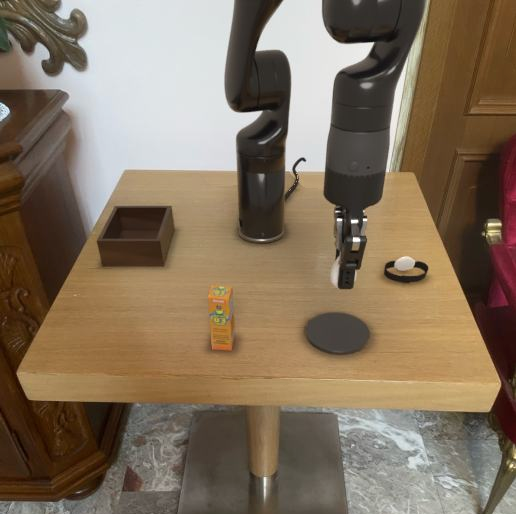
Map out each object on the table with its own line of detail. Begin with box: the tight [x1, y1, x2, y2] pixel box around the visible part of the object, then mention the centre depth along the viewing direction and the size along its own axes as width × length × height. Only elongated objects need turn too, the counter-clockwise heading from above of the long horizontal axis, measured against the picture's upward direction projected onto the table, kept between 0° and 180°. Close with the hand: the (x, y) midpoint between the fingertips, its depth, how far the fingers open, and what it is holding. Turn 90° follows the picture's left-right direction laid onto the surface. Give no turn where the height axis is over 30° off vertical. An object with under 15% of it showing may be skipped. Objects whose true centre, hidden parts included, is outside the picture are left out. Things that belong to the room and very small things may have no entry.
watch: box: [383, 255, 429, 284], centre depth 93 cm, size 8×5×4 cm, turn 88°
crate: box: [96, 205, 176, 267], centre depth 102 cm, size 15×12×5 cm
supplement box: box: [207, 284, 236, 352], centre depth 77 cm, size 3×3×10 cm
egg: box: [329, 256, 358, 289], centre depth 75 cm, size 4×4×6 cm
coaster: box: [304, 311, 371, 356], centre depth 82 cm, size 10×10×1 cm
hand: (343, 278), depth 76 cm, fingers closed on egg, 3 cm apart
